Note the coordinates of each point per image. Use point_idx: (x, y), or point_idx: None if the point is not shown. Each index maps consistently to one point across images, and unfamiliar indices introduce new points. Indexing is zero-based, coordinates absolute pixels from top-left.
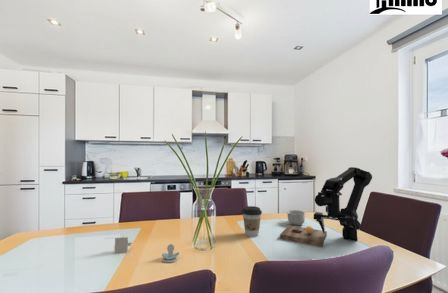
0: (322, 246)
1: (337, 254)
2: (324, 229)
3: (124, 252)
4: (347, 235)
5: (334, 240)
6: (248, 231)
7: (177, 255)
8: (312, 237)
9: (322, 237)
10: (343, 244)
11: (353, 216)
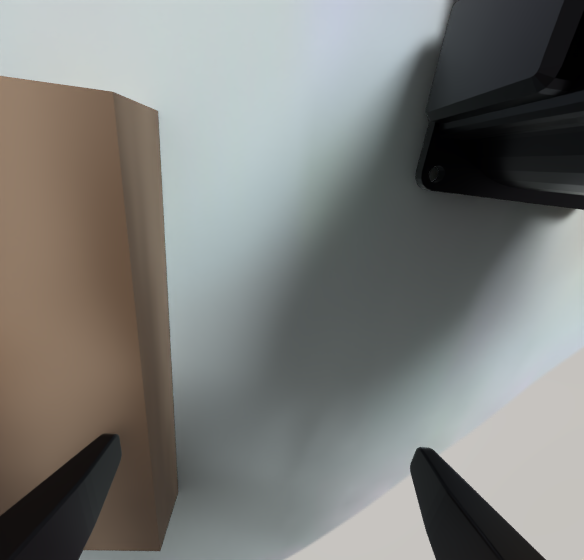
0: (176, 488)
1: (295, 545)
2: (72, 505)
3: None
4: (522, 176)
5: (282, 281)
6: None
7: None
8: (18, 494)
9: (129, 448)
10: (372, 364)
11: None
